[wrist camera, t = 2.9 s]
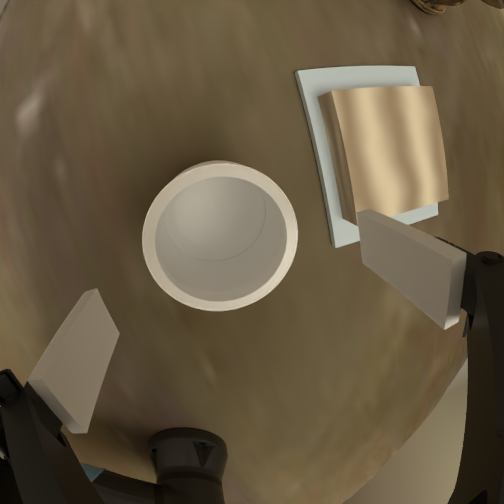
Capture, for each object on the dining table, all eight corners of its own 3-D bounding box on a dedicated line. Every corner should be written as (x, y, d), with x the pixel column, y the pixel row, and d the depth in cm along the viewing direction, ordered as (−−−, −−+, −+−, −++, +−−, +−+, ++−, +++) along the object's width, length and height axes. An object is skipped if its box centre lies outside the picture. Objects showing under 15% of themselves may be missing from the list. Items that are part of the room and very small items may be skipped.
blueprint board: (331, 245, 37) (335, 248, 36) (294, 73, 30) (297, 70, 28) (433, 212, 38) (438, 214, 37) (409, 68, 31) (414, 66, 30)
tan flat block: (342, 218, 35) (357, 226, 31) (317, 96, 30) (331, 90, 26) (430, 193, 36) (448, 199, 32) (413, 89, 31) (432, 86, 27)
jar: (189, 261, 35) (184, 332, 21) (152, 182, 31) (115, 205, 17) (272, 226, 35) (317, 276, 21) (240, 144, 32) (269, 137, 18)
